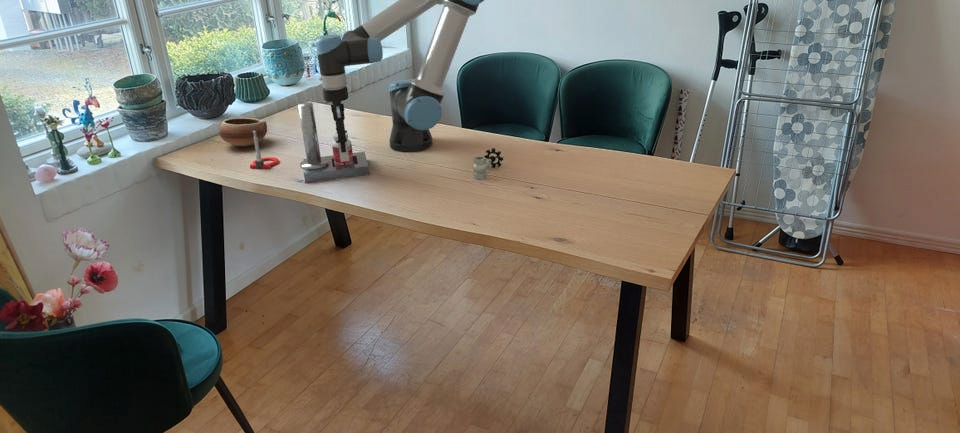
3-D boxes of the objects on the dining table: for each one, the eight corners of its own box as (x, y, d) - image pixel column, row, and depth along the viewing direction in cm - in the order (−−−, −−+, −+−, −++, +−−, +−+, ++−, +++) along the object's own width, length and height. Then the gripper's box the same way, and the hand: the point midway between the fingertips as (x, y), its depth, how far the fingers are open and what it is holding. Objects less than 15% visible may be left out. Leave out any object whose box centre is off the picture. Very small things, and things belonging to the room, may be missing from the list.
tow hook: (260, 160, 235) (247, 168, 227) (254, 123, 230) (241, 131, 222) (283, 160, 234) (271, 169, 226) (277, 124, 229) (265, 131, 221)
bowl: (276, 141, 251) (272, 115, 247) (242, 155, 239) (237, 128, 235) (248, 136, 259) (243, 110, 255) (213, 148, 247) (208, 122, 243)
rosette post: (365, 160, 230) (357, 93, 220) (369, 174, 217) (360, 104, 207) (301, 167, 226) (290, 99, 216) (301, 183, 213) (290, 111, 203)
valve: (486, 182, 208) (503, 168, 218) (486, 161, 205) (503, 149, 215) (467, 178, 211) (485, 165, 220) (466, 158, 208) (484, 146, 218)
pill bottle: (348, 171, 218) (344, 138, 213) (331, 169, 220) (326, 136, 215) (357, 163, 223) (353, 131, 218) (341, 162, 225) (336, 130, 220)
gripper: (321, 80, 218) (331, 149, 228) (323, 96, 201) (333, 169, 211) (345, 78, 219) (354, 146, 229) (348, 93, 203) (358, 166, 212)
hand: (344, 157), depth 220 cm, fingers closed on pill bottle, 6 cm apart
